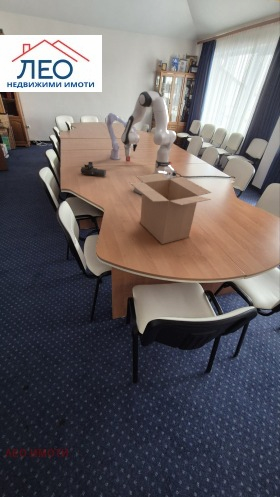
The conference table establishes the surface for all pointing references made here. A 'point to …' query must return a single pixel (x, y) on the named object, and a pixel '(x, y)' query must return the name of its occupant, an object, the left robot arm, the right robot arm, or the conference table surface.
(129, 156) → the canister
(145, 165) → the conference table surface
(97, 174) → the laser sight
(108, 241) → the conference table surface
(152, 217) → the box
